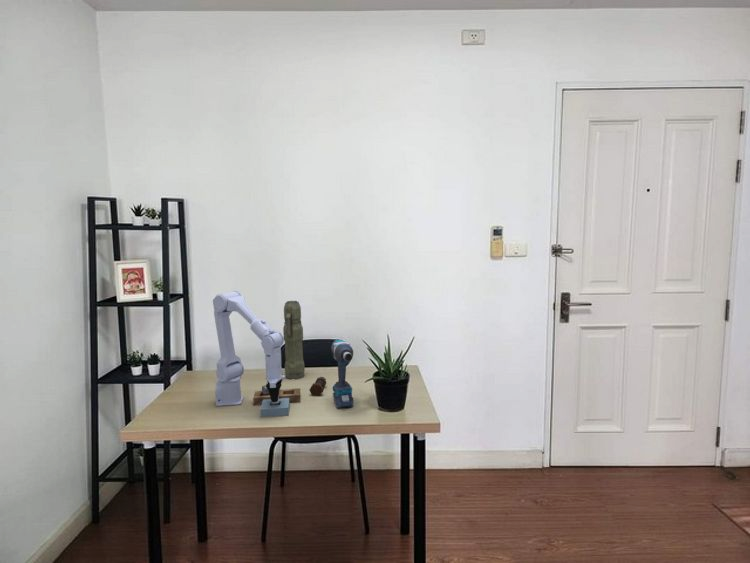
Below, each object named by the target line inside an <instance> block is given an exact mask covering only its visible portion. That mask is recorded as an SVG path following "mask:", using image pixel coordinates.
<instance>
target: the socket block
mask: <svg viewBox="0 0 750 563" xmlns="http://www.w3.org/2000/svg"><path fill="white" fill-rule="evenodd" d="M290 404H291V403H289V398H281V399H279V405H273V406H271V399H265V400H263V401H262V405H260V411H259V412H260V418H267V417H268V418H269V417H270V418H271V417H284V416H285V417H286V416H289V415H290V414H289V413H290V406H291V405H290Z"/></svg>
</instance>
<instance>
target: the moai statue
mask: <svg viewBox="0 0 750 563" xmlns="http://www.w3.org/2000/svg"><path fill="white" fill-rule="evenodd" d="M283 319H284V322H283V324H284V325H283V330H282V331H283V335H282V336H283V339H284V351H285V352H284V354H285V355H284V356H285V357H284V358H285V362H284V372H285V374H284V375H285V379H288V380H292V379H295V380H300V379H303V378H304V377H305V369H306V368H305V361H304V352H303V340H304V327H303V325H302V308H301V305H300V302H299V301H297V300H289V301H286V302H285V303H284V306H283Z"/></svg>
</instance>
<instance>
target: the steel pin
mask: <svg viewBox="0 0 750 563" xmlns="http://www.w3.org/2000/svg"><path fill="white" fill-rule="evenodd" d="M273 405H279V396H278V402H272V401H271V406H273Z"/></svg>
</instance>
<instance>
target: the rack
mask: <svg viewBox="0 0 750 563" xmlns="http://www.w3.org/2000/svg"><path fill="white" fill-rule="evenodd" d="M281 398H289V403H290V404H294V403H295V404H297V403H301V388H282V389H281V388H280V390H279V399H281ZM265 399H271V397H270V393H269V395H268V396H262V390H255V391H254V395H253V397H252V402H253V406H261V405H262V401H263V400H265Z"/></svg>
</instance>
